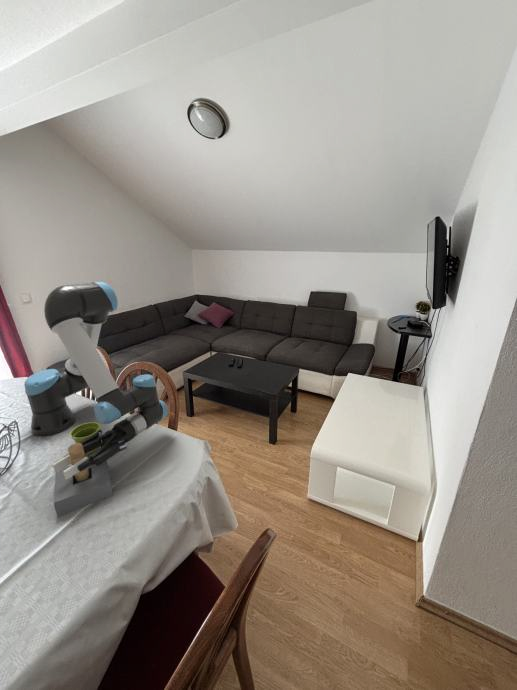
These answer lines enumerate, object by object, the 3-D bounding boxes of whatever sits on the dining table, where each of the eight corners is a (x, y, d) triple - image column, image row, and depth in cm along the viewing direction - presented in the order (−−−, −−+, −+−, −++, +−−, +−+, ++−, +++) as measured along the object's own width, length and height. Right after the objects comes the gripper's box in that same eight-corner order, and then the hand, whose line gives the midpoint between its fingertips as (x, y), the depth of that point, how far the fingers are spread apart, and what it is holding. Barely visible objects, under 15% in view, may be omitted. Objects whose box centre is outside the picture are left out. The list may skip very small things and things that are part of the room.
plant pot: (91, 460, 100) (86, 439, 97) (68, 456, 102) (63, 436, 99) (109, 443, 109) (105, 423, 106) (88, 439, 110) (84, 420, 108)
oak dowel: (77, 484, 88) (68, 445, 83) (91, 479, 90) (82, 441, 85) (78, 492, 85) (67, 453, 80) (91, 487, 87) (82, 448, 82)
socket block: (59, 482, 90) (55, 470, 89) (108, 466, 97) (105, 454, 96) (57, 516, 79) (53, 502, 77) (112, 494, 86) (110, 482, 84)
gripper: (148, 445, 97) (80, 494, 77) (114, 429, 105) (45, 471, 85) (145, 426, 94) (75, 472, 75) (111, 412, 102) (39, 450, 83)
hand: (59, 471), depth 80 cm, fingers open, 5 cm apart
